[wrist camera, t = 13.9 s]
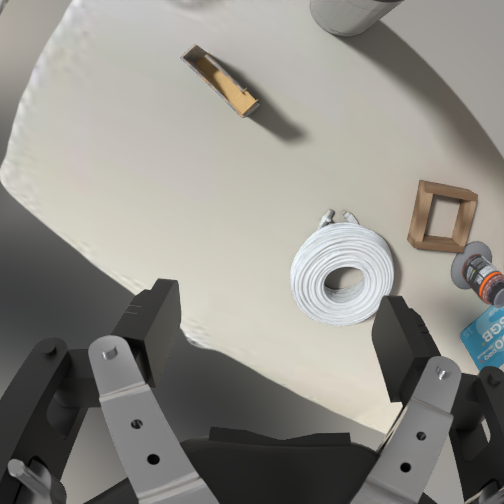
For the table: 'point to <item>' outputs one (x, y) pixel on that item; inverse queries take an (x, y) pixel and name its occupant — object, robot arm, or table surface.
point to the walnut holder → (422, 212)
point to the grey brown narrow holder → (220, 81)
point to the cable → (336, 256)
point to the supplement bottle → (484, 280)
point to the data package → (486, 338)
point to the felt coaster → (462, 257)
